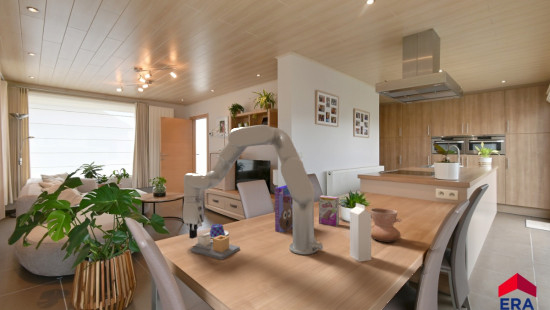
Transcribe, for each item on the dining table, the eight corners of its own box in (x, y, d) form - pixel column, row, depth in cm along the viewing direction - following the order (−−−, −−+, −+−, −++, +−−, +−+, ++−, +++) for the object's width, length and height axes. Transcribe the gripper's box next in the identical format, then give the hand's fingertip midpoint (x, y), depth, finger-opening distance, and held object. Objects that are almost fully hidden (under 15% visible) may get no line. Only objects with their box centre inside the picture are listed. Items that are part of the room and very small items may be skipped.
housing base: (239, 249, 112) (239, 237, 112) (221, 259, 101) (221, 247, 101) (210, 242, 121) (210, 231, 121) (190, 251, 110) (190, 239, 110)
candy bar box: (318, 223, 149) (318, 196, 149) (321, 221, 153) (321, 195, 153) (336, 226, 143) (336, 198, 143) (339, 224, 147) (339, 196, 147)
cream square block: (210, 243, 115) (210, 234, 115) (203, 246, 112) (203, 236, 112) (204, 242, 117) (204, 232, 117) (197, 245, 114) (197, 235, 114)
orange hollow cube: (229, 248, 110) (229, 236, 110) (221, 252, 106) (221, 240, 106) (220, 246, 113) (220, 235, 113) (212, 249, 108) (212, 238, 108)
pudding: (223, 239, 125) (223, 229, 125) (201, 238, 127) (201, 228, 127) (231, 231, 137) (231, 222, 137) (211, 231, 139) (211, 221, 139)
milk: (358, 262, 98) (358, 206, 97) (349, 255, 104) (349, 203, 103) (371, 259, 100) (371, 205, 99) (362, 253, 105) (361, 202, 105)
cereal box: (282, 232, 134) (282, 188, 133) (275, 231, 136) (274, 187, 136) (297, 224, 149) (296, 184, 148) (290, 223, 151) (289, 183, 151)
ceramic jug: (408, 240, 121) (407, 210, 121) (394, 247, 111) (394, 215, 112) (373, 231, 135) (372, 205, 135) (358, 237, 125) (358, 209, 125)
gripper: (209, 199, 117) (210, 237, 118) (188, 196, 125) (188, 232, 125) (197, 202, 111) (198, 243, 111) (175, 199, 118) (176, 237, 119)
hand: (193, 237), depth 118 cm, fingers closed
